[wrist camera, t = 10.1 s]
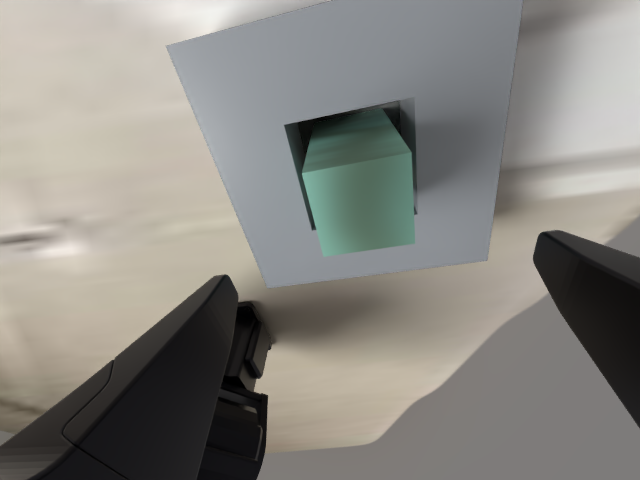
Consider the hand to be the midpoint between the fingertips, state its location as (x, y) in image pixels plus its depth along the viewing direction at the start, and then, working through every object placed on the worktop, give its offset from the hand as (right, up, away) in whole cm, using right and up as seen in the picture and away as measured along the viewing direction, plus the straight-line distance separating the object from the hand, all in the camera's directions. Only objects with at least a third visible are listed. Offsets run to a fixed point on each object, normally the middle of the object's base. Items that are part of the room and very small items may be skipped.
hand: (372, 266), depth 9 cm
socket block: (+1, +6, +10) cm, 12 cm away
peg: (+1, +6, +10) cm, 12 cm away
